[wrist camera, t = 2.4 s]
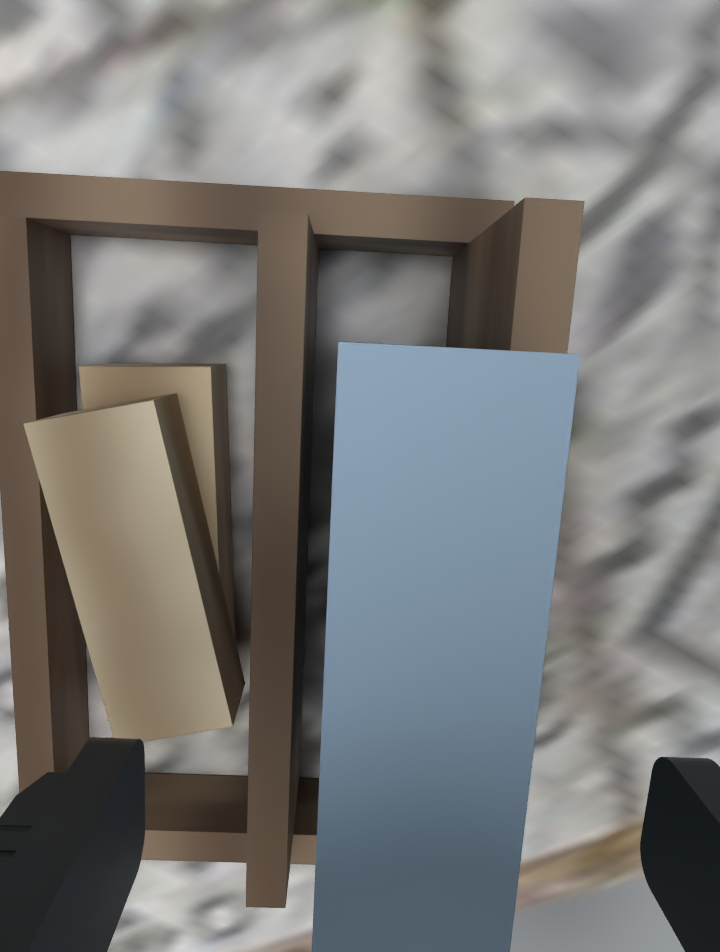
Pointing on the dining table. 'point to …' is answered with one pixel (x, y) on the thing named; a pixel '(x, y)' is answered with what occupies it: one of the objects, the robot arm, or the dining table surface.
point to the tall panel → (435, 639)
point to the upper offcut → (140, 565)
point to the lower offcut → (204, 428)
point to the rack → (275, 451)
